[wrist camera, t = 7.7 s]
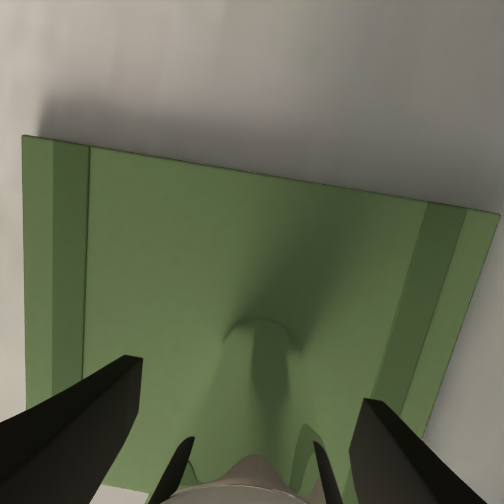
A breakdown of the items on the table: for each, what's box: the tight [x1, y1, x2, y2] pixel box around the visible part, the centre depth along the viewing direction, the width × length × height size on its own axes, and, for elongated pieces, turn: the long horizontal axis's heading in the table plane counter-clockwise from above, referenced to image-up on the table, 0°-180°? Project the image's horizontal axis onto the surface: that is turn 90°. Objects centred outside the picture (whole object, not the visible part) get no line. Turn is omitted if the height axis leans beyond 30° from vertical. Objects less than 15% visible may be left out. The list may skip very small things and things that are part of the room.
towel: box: [22, 135, 501, 504], centre depth 14 cm, size 18×16×1 cm
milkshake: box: [145, 318, 344, 504], centre depth 9 cm, size 5×5×10 cm
